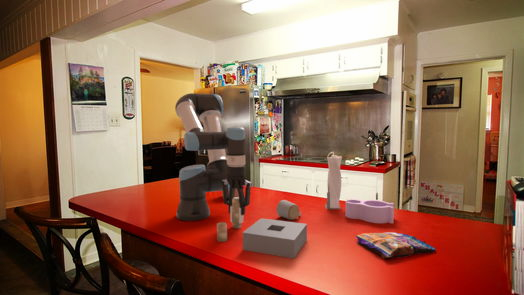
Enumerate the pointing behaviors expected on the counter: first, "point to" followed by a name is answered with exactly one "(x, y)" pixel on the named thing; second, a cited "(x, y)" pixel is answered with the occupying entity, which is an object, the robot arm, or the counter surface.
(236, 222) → the long pin
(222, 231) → the short pin
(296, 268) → the counter surface
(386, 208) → the clip
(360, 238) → the food package
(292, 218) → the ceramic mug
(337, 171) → the skyscraper
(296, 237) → the hole block
